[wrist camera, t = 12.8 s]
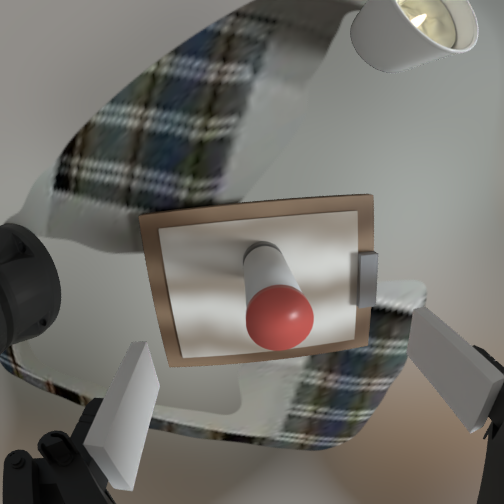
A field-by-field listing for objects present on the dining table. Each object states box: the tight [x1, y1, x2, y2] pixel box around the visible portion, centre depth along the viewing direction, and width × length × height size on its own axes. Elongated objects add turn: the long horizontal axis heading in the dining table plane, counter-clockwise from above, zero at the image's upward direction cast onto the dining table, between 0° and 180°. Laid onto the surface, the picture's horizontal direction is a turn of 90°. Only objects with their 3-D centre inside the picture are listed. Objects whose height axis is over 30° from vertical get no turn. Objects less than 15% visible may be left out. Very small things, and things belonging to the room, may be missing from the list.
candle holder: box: [350, 0, 478, 73], centre depth 21 cm, size 10×10×12 cm
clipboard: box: [139, 194, 378, 367], centre depth 33 cm, size 18×24×3 cm
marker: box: [243, 241, 314, 351], centre depth 25 cm, size 4×4×13 cm
